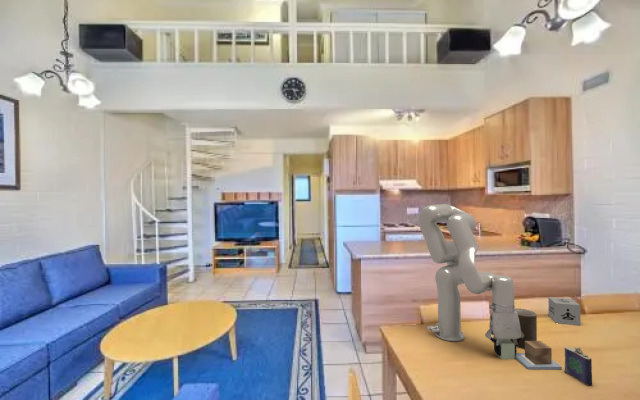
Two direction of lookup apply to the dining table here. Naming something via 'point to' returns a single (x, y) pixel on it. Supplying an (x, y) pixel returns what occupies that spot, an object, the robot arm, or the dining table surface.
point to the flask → (578, 365)
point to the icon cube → (564, 311)
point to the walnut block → (538, 352)
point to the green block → (507, 349)
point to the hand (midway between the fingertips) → (505, 353)
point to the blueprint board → (530, 365)
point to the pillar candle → (527, 326)
